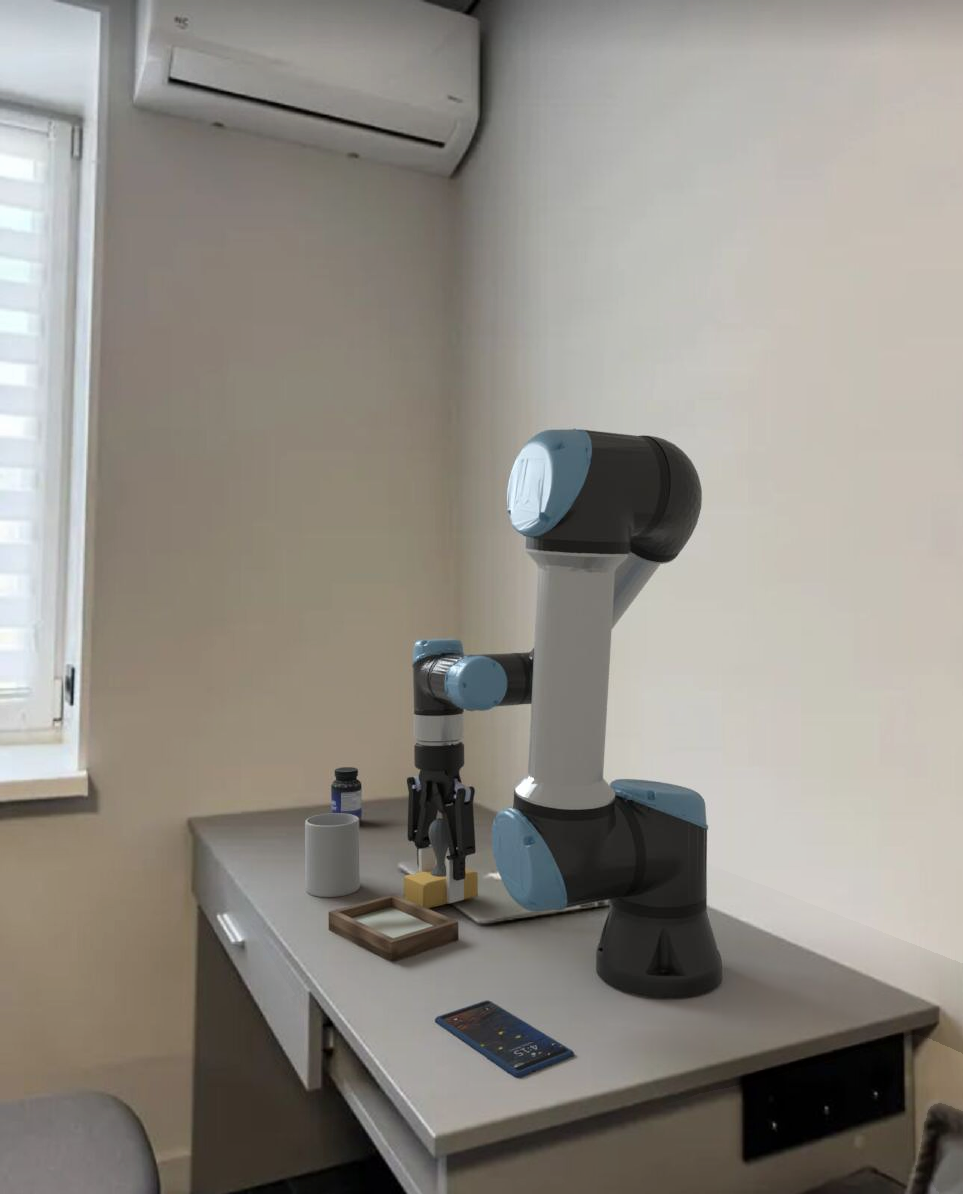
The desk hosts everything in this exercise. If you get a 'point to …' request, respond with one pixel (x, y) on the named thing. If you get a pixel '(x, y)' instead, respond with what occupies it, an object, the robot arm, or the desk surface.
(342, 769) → the pill bottle
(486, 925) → the desk surface
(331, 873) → the mug
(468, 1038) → the smartphone
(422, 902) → the rubber stamp
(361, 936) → the tray
